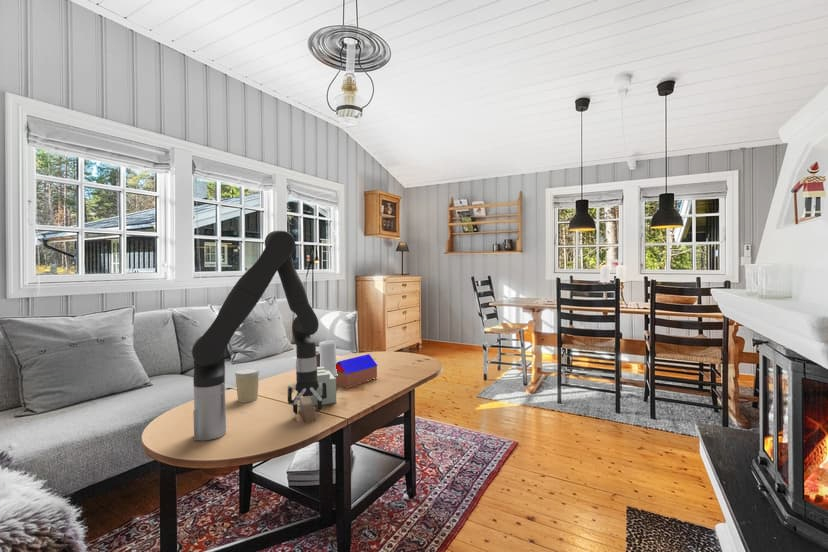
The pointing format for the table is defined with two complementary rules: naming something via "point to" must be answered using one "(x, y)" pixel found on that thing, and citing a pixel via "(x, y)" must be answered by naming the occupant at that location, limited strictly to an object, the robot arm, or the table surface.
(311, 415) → the long beige cuboid
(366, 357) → the house
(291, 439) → the table surface
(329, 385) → the stand
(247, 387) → the coffee cup
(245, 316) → the robot arm
